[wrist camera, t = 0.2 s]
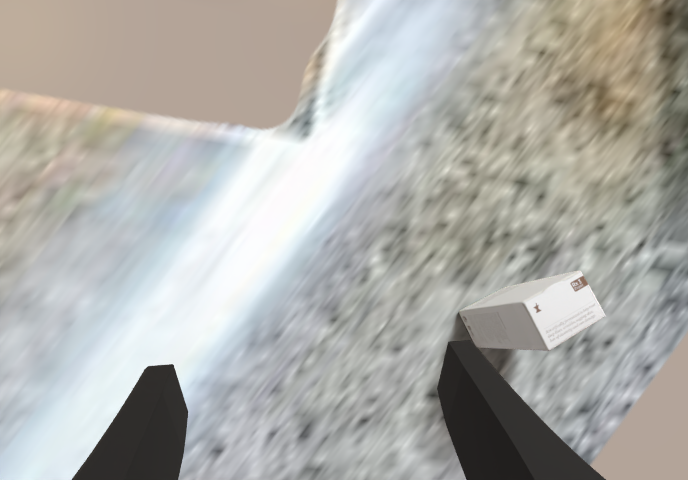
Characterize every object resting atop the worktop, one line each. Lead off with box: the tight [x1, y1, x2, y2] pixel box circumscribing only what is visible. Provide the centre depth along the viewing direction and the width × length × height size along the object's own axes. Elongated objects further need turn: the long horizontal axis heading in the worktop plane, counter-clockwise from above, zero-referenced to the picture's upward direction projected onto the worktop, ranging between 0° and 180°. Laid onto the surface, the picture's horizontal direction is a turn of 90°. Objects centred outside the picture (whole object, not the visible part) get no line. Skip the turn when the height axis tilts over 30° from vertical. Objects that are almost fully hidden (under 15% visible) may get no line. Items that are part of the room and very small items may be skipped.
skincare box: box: [459, 271, 606, 351], centre depth 39 cm, size 6×4×12 cm
